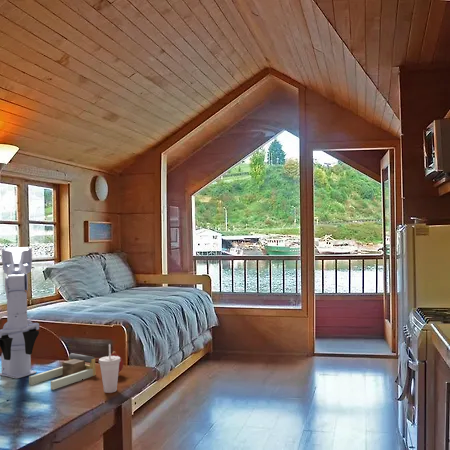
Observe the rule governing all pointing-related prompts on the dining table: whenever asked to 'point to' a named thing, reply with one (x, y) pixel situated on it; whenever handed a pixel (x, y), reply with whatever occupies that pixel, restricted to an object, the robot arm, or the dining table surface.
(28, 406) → the dining table surface
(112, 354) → the onion
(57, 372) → the cream u-shaped frame
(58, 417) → the dining table surface
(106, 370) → the smoothie
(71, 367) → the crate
